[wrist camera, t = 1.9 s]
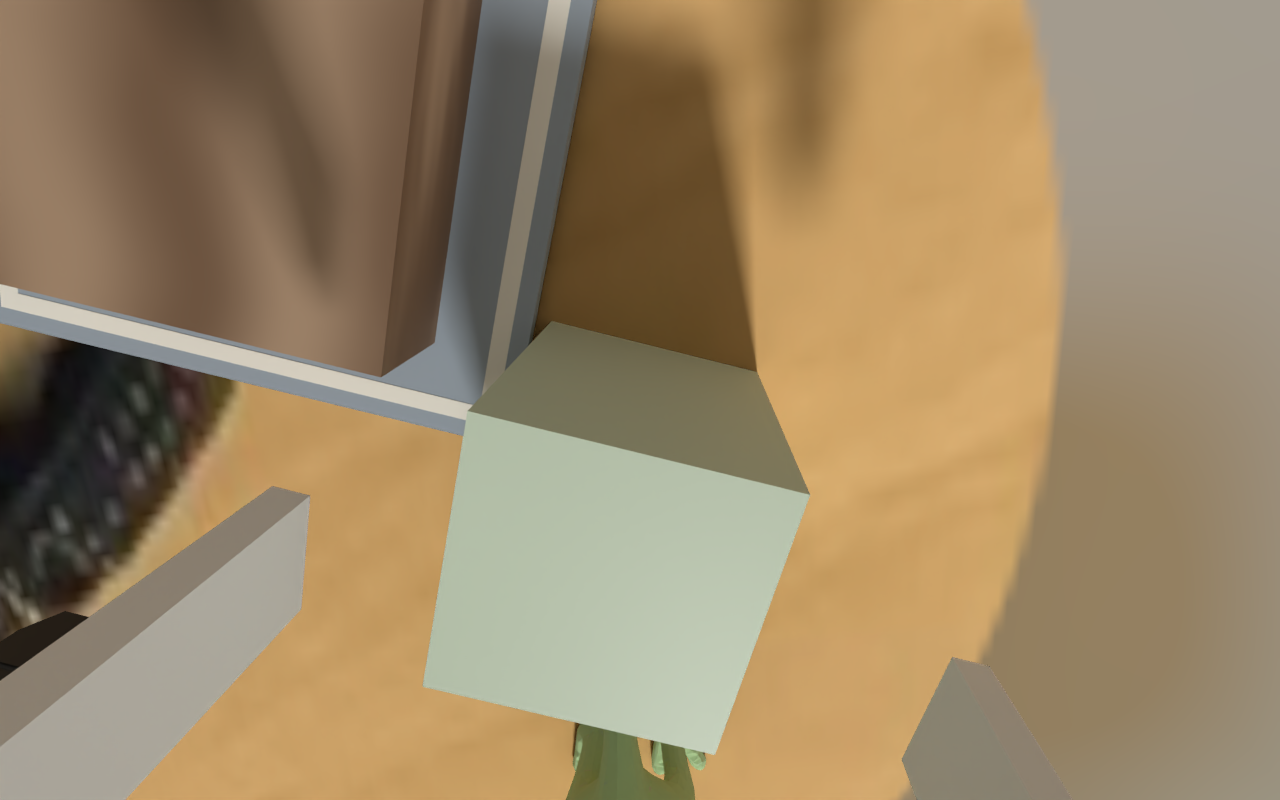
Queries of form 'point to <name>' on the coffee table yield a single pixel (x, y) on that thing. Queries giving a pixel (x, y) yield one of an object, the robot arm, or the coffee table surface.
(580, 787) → the toy
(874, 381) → the coffee table surface
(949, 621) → the coffee table surface
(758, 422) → the sage block
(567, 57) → the grey square plate
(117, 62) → the foundation block
